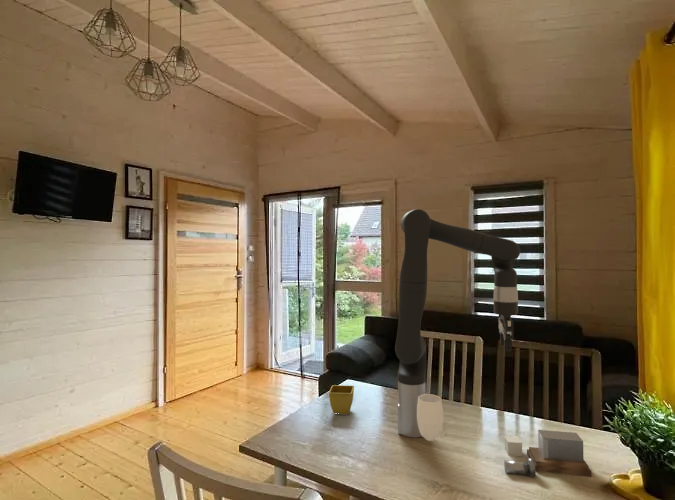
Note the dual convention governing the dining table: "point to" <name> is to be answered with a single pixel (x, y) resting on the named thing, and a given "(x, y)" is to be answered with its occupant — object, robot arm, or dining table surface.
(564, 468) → the stand
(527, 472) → the bolt
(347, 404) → the flower pot
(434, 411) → the cup
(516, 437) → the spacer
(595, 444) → the dining table surface
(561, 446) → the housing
